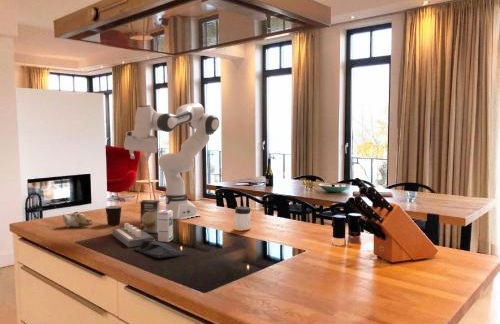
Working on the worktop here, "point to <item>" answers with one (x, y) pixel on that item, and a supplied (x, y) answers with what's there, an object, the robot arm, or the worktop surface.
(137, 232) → the breaker paddles
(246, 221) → the jar
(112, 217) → the coffee mug
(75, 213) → the ceramic sculpture
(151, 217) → the coffee box
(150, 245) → the dark slate chunk
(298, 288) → the worktop surface
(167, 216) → the syrup box
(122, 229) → the breaker panel
